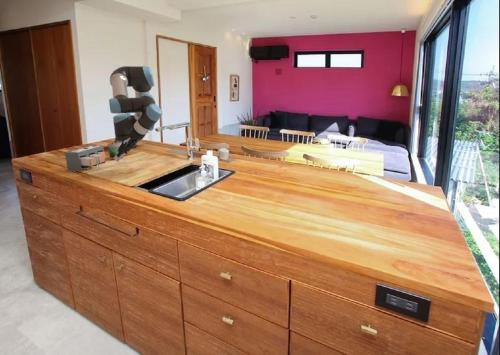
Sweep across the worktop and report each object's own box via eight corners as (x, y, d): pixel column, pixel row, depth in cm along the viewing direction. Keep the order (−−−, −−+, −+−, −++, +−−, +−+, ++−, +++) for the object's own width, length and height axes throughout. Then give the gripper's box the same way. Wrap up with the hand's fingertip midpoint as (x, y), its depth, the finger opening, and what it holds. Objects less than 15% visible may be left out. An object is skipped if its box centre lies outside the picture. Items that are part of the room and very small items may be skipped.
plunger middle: (104, 161, 181) (103, 155, 180) (99, 162, 178) (99, 156, 177) (93, 160, 183) (92, 154, 182) (88, 162, 180) (87, 155, 179)
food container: (119, 161, 195) (117, 144, 192) (109, 161, 196) (107, 144, 193) (127, 156, 207) (125, 140, 204) (117, 156, 207) (115, 140, 204)
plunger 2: (105, 158, 189) (104, 152, 188) (101, 159, 185) (100, 153, 184) (94, 157, 191) (93, 151, 190) (90, 158, 187) (89, 152, 186)
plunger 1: (96, 164, 175) (95, 157, 174) (91, 165, 172) (90, 159, 171) (84, 163, 177) (83, 156, 176) (79, 165, 174) (78, 158, 173)
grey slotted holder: (105, 162, 191) (103, 145, 188) (80, 171, 174) (77, 152, 171) (93, 161, 193) (90, 144, 190) (67, 170, 176) (64, 151, 173)
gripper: (137, 137, 161) (112, 168, 171) (152, 133, 173) (128, 162, 183) (126, 126, 161) (102, 157, 171) (142, 122, 173) (119, 152, 183)
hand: (116, 159), depth 177 cm, fingers closed
